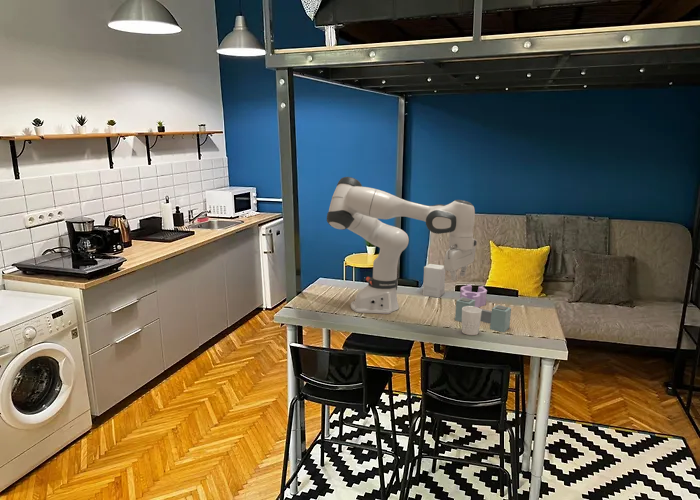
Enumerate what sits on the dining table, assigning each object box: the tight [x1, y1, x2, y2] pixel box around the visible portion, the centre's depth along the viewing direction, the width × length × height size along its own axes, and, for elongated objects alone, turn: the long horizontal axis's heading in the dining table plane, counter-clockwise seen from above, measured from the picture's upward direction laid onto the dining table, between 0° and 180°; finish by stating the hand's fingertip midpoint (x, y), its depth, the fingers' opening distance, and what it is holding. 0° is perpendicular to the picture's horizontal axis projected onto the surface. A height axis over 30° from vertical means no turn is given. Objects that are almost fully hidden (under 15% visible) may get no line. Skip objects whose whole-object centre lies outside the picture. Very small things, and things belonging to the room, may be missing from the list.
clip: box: [459, 284, 488, 308], centre depth 243 cm, size 20×12×7 cm, turn 158°
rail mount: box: [454, 297, 512, 333], centre depth 216 cm, size 8×22×9 cm, turn 53°
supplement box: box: [422, 263, 446, 298], centre depth 255 cm, size 9×9×15 cm
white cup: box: [461, 306, 482, 336], centre depth 206 cm, size 8×8×10 cm
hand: (458, 277), depth 194 cm, fingers open, 6 cm apart
